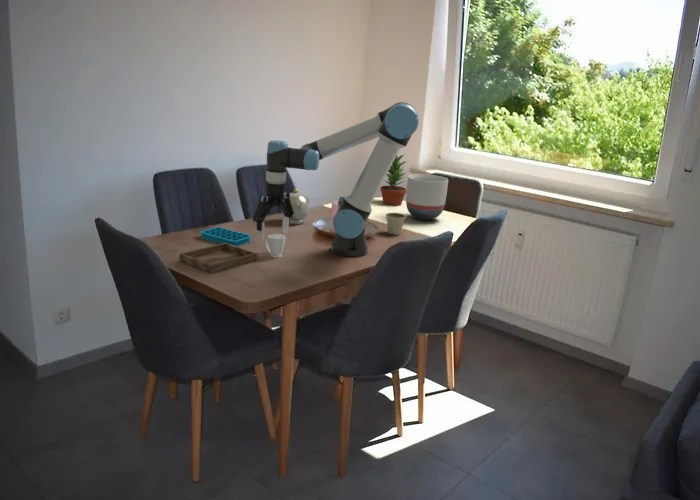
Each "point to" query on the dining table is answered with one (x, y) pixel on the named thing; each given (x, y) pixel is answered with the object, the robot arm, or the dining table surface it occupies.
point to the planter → (426, 195)
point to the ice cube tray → (225, 236)
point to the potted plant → (394, 193)
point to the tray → (218, 258)
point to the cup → (275, 244)
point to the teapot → (298, 207)
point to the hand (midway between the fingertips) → (273, 235)
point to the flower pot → (395, 223)
